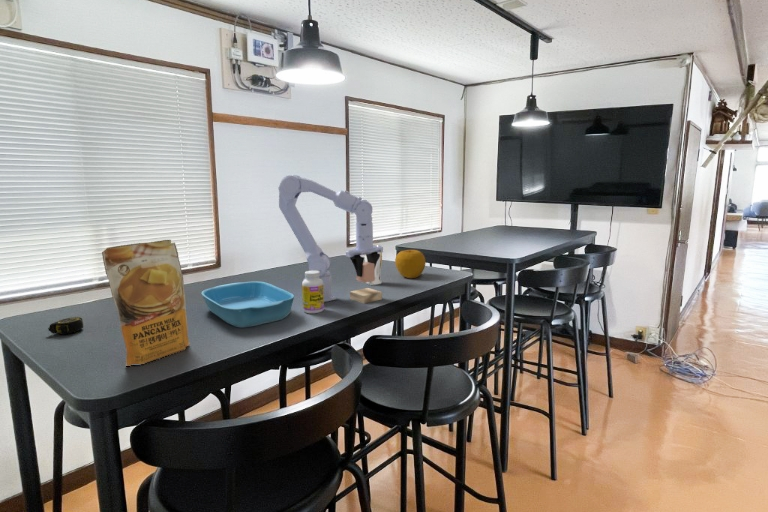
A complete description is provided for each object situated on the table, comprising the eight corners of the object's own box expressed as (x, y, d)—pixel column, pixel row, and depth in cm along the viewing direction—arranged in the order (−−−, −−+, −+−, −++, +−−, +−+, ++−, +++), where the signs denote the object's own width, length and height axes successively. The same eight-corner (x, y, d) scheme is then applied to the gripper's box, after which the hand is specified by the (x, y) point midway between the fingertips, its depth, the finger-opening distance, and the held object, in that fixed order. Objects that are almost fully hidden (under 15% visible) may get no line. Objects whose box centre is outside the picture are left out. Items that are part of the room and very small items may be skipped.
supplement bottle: (308, 315, 142) (306, 275, 140) (300, 310, 147) (298, 271, 145) (327, 311, 145) (326, 272, 143) (318, 306, 151) (317, 268, 149)
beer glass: (383, 281, 185) (382, 244, 182) (381, 285, 178) (380, 247, 175) (366, 281, 185) (365, 245, 183) (363, 285, 179) (362, 247, 176)
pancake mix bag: (109, 366, 106) (93, 247, 101) (184, 340, 122) (173, 237, 117) (124, 372, 102) (109, 250, 97) (199, 345, 118) (189, 238, 113)
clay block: (364, 282, 155) (363, 265, 154) (356, 280, 159) (356, 263, 157) (374, 280, 158) (374, 263, 157) (366, 278, 161) (366, 261, 160)
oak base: (363, 304, 154) (363, 296, 153) (350, 299, 160) (349, 291, 160) (382, 300, 159) (381, 291, 158) (368, 295, 165) (368, 287, 165)
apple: (390, 278, 189) (390, 251, 187) (401, 272, 201) (401, 246, 199) (420, 281, 184) (420, 253, 182) (429, 274, 196) (429, 248, 194)
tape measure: (69, 327, 134) (67, 315, 134) (89, 328, 133) (88, 316, 132) (49, 336, 128) (47, 323, 127) (70, 337, 126) (68, 324, 126)
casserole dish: (195, 308, 153) (193, 287, 151) (258, 296, 166) (257, 277, 165) (233, 337, 124) (231, 312, 123) (307, 320, 137) (305, 298, 136)
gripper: (354, 239, 148) (355, 280, 150) (388, 235, 157) (388, 273, 159) (341, 237, 153) (343, 276, 156) (375, 233, 162) (376, 270, 165)
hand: (365, 275), depth 158 cm, fingers closed on clay block, 4 cm apart
